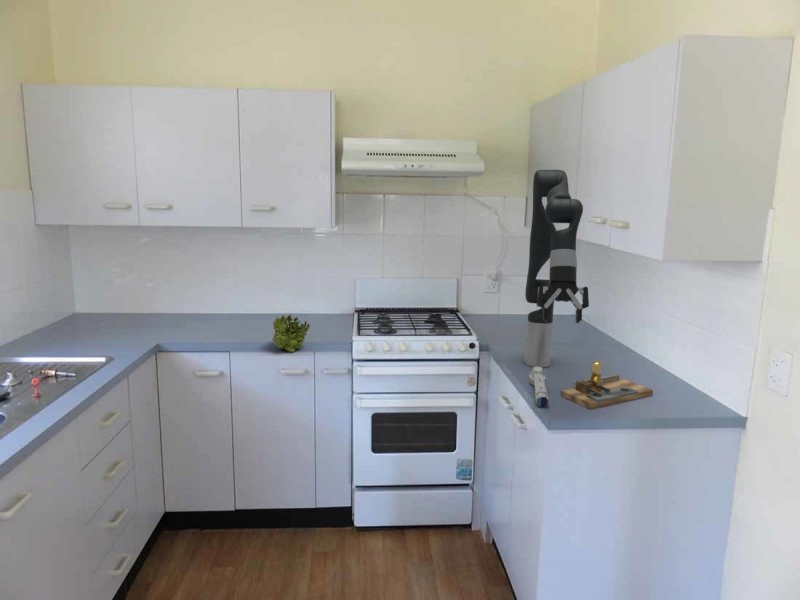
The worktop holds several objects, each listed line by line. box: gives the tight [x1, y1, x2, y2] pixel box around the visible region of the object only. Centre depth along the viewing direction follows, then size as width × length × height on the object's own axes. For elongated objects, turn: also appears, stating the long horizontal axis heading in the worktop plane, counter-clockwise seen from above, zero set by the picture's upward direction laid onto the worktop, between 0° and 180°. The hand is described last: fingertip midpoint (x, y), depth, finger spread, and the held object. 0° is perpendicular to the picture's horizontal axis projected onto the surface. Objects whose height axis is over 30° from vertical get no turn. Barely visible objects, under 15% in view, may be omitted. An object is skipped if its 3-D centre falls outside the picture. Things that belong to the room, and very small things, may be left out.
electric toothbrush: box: [529, 367, 550, 408], centre depth 188 cm, size 5×7×25 cm
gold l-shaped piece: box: [587, 360, 610, 392], centre depth 185 cm, size 8×3×9 cm, turn 27°
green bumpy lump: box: [271, 314, 311, 353], centre depth 235 cm, size 18×16×16 cm
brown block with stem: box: [575, 379, 599, 394], centre depth 183 cm, size 8×3×3 cm, turn 27°
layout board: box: [560, 374, 654, 410], centre depth 186 cm, size 13×28×4 cm, turn 117°
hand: (562, 322), depth 162 cm, fingers open, 8 cm apart
